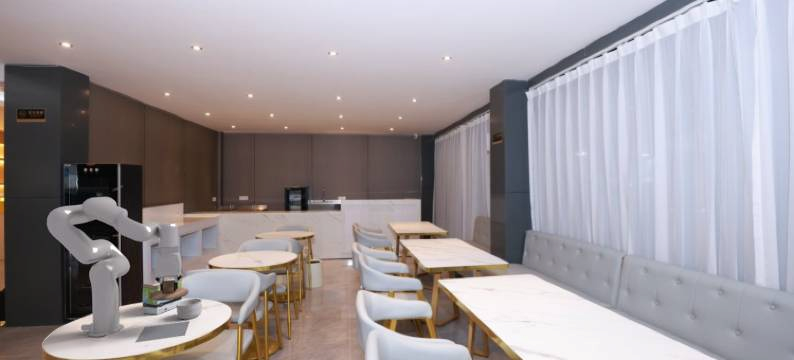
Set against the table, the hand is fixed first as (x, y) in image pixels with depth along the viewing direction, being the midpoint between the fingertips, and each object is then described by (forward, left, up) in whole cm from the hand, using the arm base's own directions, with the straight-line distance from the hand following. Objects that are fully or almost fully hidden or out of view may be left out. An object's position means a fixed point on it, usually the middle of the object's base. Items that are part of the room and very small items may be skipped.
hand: (169, 290), depth 177 cm
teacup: (+7, +14, -18) cm, 24 cm away
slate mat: (-2, -3, -17) cm, 18 cm away
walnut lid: (0, 0, -2) cm, 2 cm away
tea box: (-8, +32, -18) cm, 37 cm away
